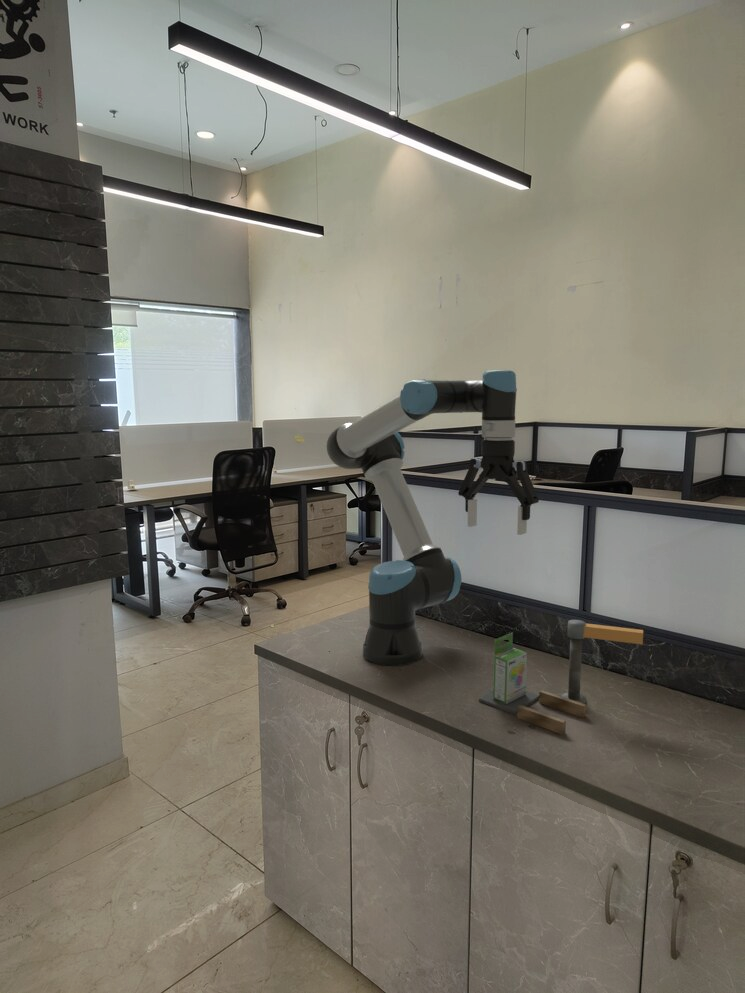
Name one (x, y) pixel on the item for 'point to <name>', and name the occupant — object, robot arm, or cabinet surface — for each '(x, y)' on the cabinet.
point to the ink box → (509, 671)
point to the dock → (568, 701)
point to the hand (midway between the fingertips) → (496, 529)
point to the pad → (511, 706)
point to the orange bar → (603, 632)
